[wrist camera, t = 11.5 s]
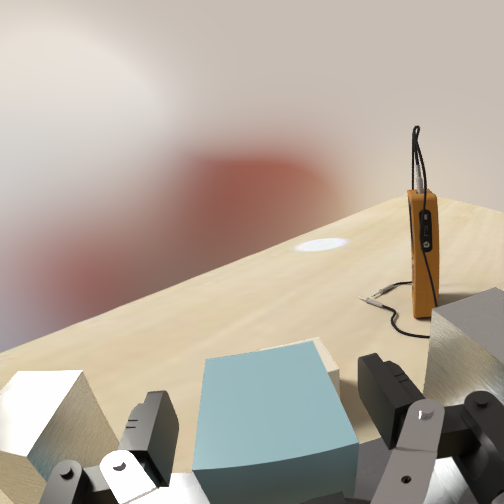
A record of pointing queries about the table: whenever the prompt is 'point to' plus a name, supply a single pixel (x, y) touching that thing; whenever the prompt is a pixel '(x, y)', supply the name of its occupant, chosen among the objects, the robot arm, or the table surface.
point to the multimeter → (421, 245)
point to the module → (273, 430)
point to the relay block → (325, 357)
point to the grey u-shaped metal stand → (186, 484)
